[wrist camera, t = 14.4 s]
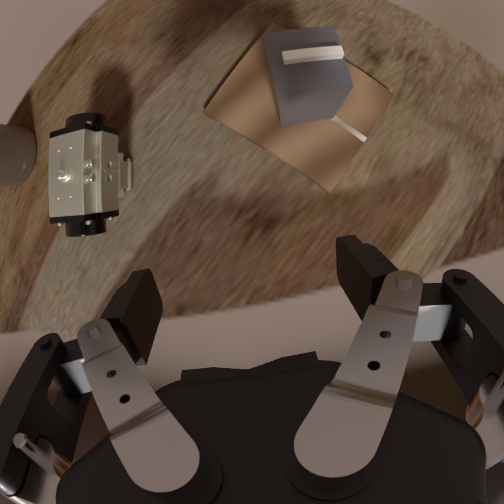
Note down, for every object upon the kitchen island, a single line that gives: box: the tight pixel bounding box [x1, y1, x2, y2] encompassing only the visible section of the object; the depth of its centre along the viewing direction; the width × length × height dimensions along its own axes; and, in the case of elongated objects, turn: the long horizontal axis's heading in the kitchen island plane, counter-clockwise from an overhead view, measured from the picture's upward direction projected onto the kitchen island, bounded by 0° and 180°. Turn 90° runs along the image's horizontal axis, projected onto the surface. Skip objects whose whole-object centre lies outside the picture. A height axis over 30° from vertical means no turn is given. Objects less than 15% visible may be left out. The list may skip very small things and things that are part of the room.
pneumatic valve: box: [49, 113, 133, 237], centre depth 26 cm, size 6×12×12 cm, turn 0°
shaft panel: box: [203, 22, 394, 193], centre depth 25 cm, size 16×14×6 cm
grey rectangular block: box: [262, 26, 353, 126], centre depth 22 cm, size 6×6×11 cm
